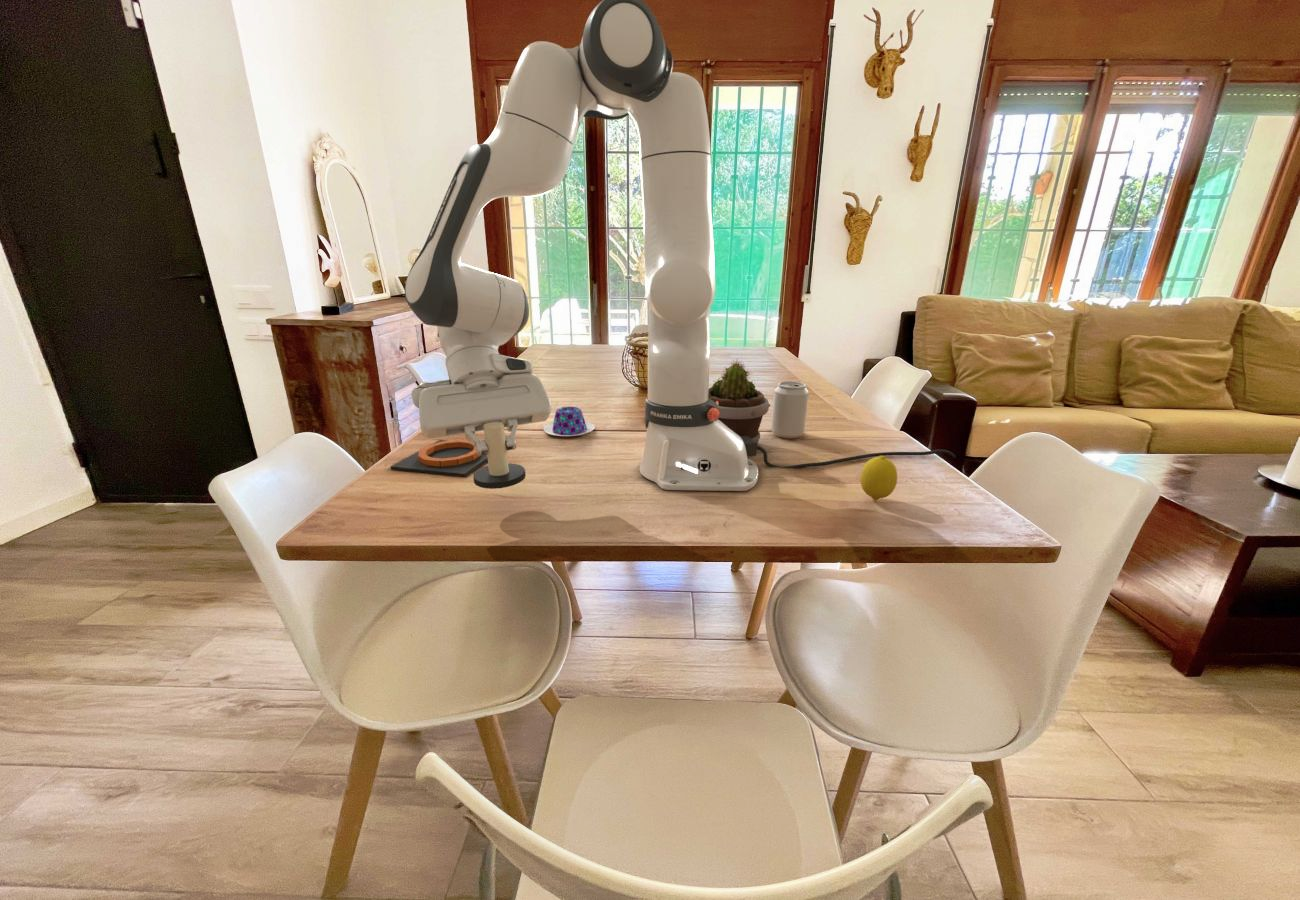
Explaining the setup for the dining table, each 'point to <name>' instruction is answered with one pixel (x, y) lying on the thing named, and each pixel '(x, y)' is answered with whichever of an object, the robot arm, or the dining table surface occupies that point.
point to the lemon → (879, 477)
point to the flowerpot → (739, 401)
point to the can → (789, 409)
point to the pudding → (569, 423)
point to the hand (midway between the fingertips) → (497, 450)
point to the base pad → (444, 459)
